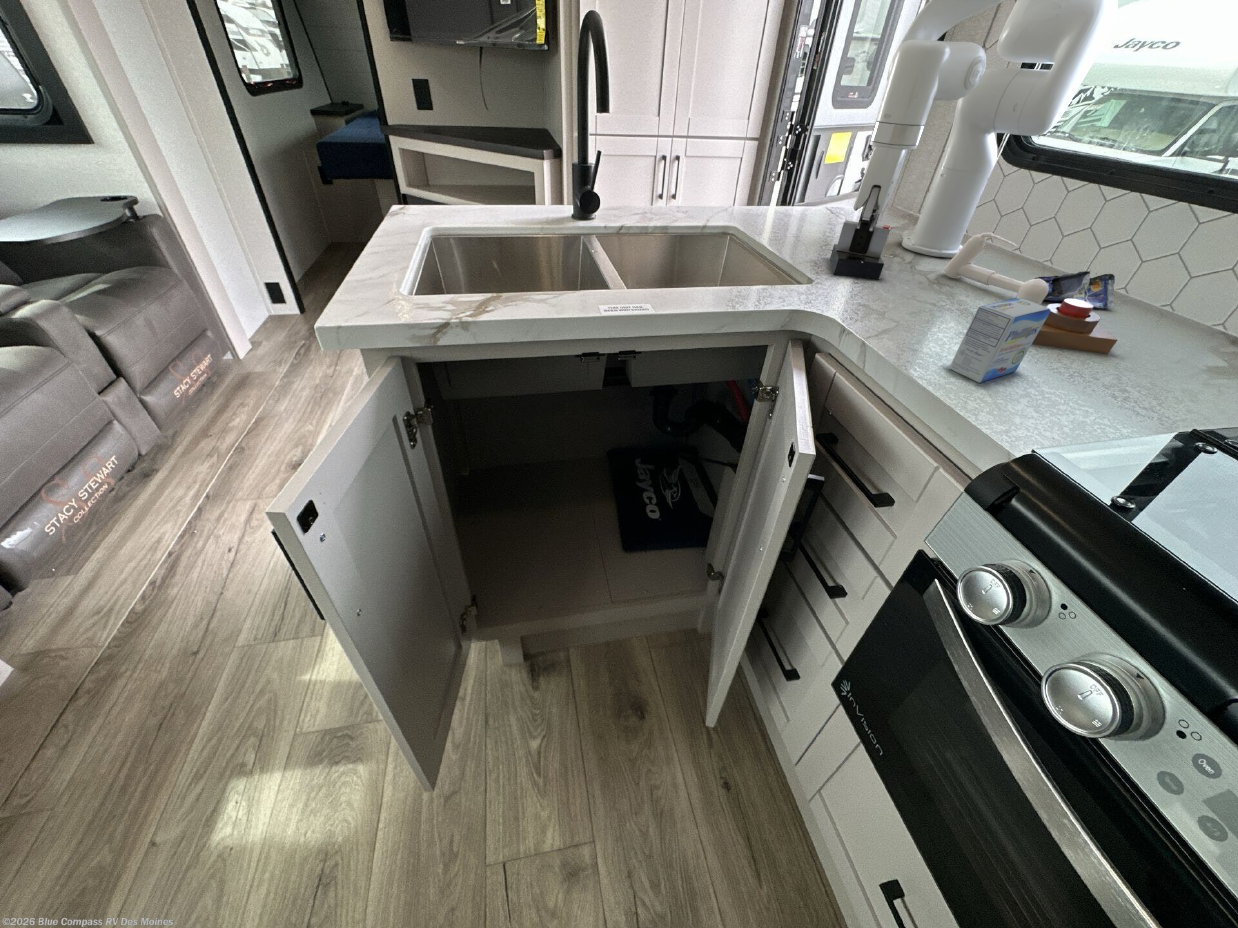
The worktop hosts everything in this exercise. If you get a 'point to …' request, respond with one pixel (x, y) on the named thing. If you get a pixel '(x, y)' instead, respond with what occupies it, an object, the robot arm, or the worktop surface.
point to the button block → (1074, 332)
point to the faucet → (963, 267)
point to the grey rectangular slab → (875, 244)
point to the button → (1075, 308)
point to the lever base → (855, 265)
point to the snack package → (1082, 288)
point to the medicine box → (998, 339)
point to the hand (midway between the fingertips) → (858, 250)
